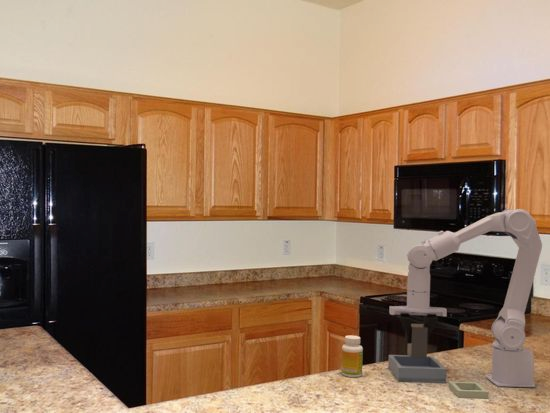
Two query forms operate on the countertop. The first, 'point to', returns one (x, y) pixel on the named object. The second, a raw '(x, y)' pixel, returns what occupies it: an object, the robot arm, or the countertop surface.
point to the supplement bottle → (352, 357)
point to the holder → (473, 391)
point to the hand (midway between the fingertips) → (416, 342)
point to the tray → (417, 369)
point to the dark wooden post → (418, 341)
